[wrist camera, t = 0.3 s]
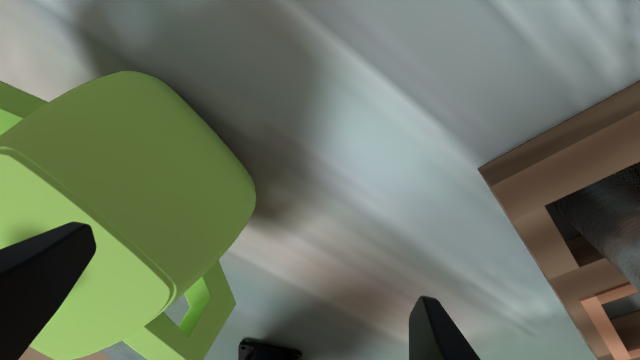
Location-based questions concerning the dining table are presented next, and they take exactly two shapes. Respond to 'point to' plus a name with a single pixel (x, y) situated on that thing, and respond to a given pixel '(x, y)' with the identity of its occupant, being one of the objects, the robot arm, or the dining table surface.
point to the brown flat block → (561, 180)
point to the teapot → (126, 211)
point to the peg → (608, 222)
